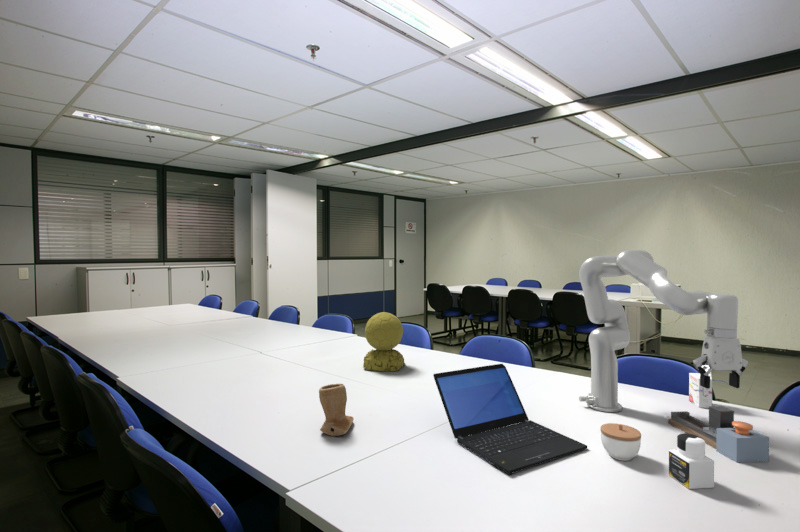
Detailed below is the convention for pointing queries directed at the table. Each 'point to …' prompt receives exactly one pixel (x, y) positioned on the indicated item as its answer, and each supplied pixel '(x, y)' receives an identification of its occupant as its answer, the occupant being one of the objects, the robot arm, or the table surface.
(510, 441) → the laptop
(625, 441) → the lidded jar
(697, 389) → the ink cartridge box
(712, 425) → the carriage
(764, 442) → the button housing
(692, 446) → the medicine bottle
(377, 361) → the trophy
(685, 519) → the table surface
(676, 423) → the slide rail track
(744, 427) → the button
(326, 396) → the tan hollow upright piece
